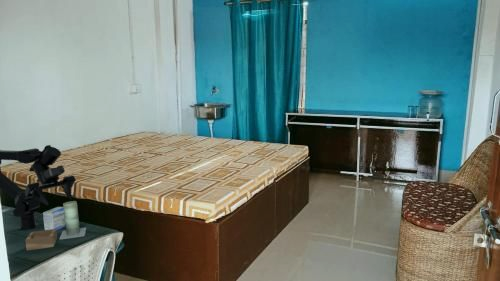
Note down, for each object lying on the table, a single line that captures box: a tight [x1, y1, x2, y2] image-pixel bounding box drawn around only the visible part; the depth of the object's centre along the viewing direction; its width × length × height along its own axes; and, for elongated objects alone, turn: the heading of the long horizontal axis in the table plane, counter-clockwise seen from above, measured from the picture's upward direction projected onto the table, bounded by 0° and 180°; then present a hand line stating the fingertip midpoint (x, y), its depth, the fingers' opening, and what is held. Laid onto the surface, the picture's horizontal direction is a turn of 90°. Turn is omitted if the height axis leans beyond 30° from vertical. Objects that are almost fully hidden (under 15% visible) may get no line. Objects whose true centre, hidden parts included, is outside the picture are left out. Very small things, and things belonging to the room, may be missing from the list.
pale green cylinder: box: [62, 200, 81, 235], centre depth 148 cm, size 5×5×12 cm
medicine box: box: [42, 206, 66, 232], centre depth 156 cm, size 8×4×9 cm, turn 168°
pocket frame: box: [24, 229, 58, 251], centre depth 139 cm, size 9×9×4 cm
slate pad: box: [59, 227, 87, 240], centre depth 149 cm, size 9×9×1 cm
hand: (59, 201), depth 148 cm, fingers open, 9 cm apart
